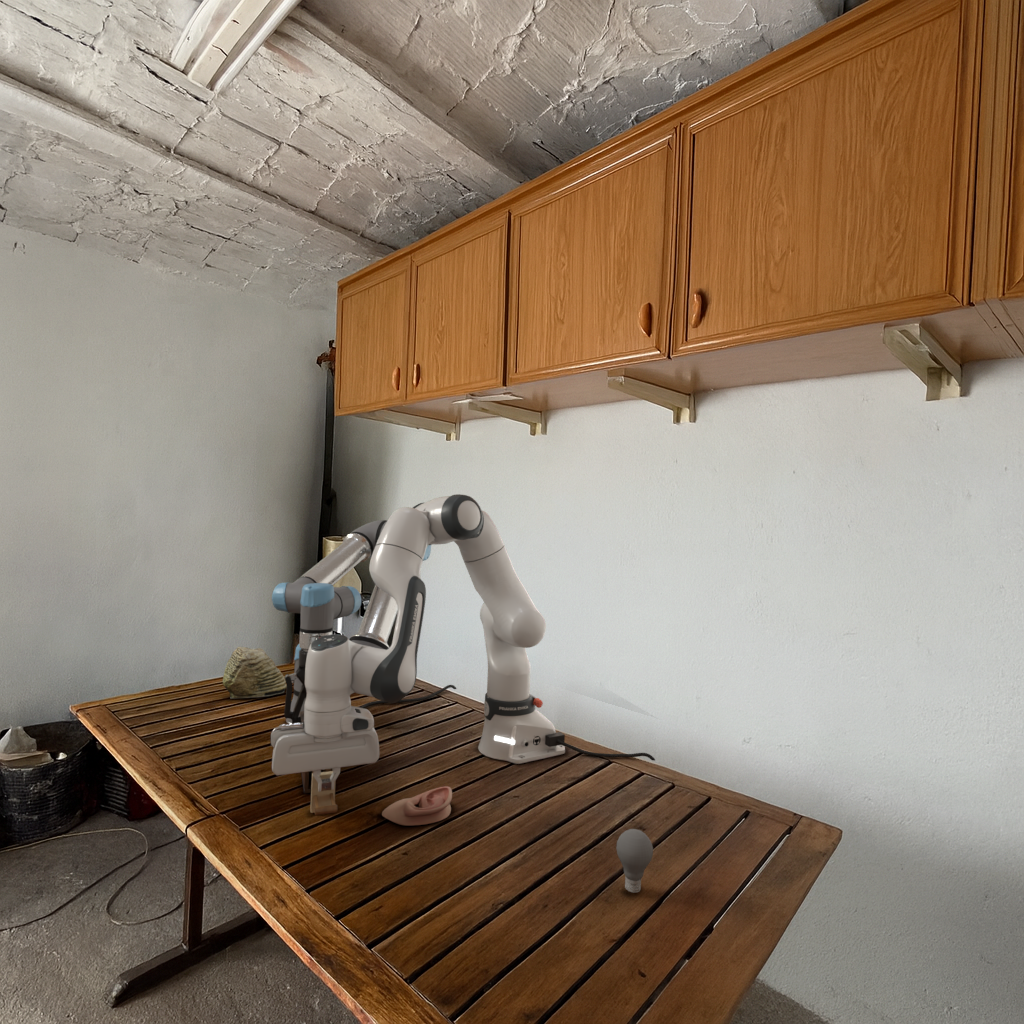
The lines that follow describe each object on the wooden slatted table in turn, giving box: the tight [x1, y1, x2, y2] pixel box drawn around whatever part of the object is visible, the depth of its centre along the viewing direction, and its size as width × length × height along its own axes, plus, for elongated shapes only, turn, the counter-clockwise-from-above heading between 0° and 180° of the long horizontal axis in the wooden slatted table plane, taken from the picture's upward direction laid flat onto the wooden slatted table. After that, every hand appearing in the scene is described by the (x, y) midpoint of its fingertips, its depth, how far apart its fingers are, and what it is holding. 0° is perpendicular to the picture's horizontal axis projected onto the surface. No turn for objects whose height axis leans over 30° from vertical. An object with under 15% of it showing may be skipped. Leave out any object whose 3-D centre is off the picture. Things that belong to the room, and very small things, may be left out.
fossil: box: [222, 646, 287, 699], centre depth 198 cm, size 9×18×15 cm, turn 132°
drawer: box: [309, 769, 338, 816], centre depth 133 cm, size 26×4×8 cm, turn 22°
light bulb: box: [615, 828, 654, 894], centre depth 106 cm, size 6×6×10 cm
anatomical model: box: [381, 785, 453, 827], centre depth 129 cm, size 13×4×12 cm
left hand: (312, 744), depth 152 cm, fingers closed on cabinet, 6 cm apart
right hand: (325, 789), depth 124 cm, fingers closed
